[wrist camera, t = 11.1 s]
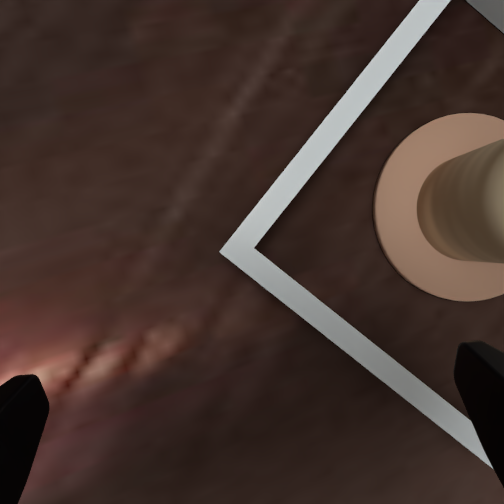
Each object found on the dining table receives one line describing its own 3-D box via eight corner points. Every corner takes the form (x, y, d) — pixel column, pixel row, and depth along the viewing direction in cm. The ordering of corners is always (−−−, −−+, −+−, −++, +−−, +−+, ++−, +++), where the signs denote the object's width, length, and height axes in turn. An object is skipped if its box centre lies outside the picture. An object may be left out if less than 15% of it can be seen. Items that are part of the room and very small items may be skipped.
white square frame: (472, 449, 20) (515, 486, 17) (221, 250, 19) (219, 252, 16) (689, 169, 20) (769, 156, 17) (451, -39, 19) (492, -91, 16)
